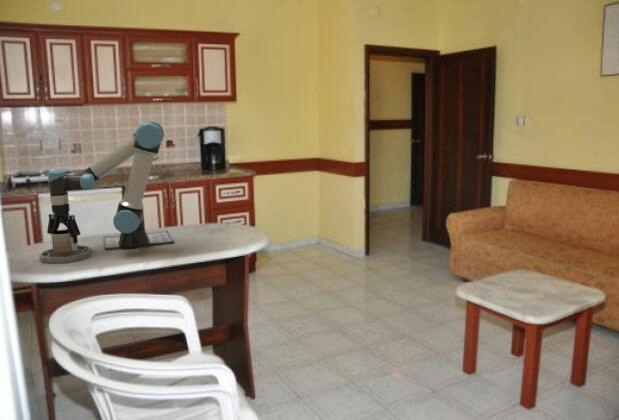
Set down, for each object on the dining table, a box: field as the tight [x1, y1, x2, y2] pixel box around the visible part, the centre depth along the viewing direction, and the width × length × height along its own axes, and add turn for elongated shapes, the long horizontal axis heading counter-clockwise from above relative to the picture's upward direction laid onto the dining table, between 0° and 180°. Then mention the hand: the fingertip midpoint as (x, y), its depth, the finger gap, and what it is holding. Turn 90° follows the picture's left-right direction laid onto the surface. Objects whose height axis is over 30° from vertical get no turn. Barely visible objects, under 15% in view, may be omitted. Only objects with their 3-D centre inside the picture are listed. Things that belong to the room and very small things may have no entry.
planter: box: [50, 228, 79, 254], centre depth 247 cm, size 11×11×10 cm
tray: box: [38, 244, 93, 265], centre depth 248 cm, size 22×22×3 cm
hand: (65, 248), depth 248 cm, fingers closed on planter, 11 cm apart
